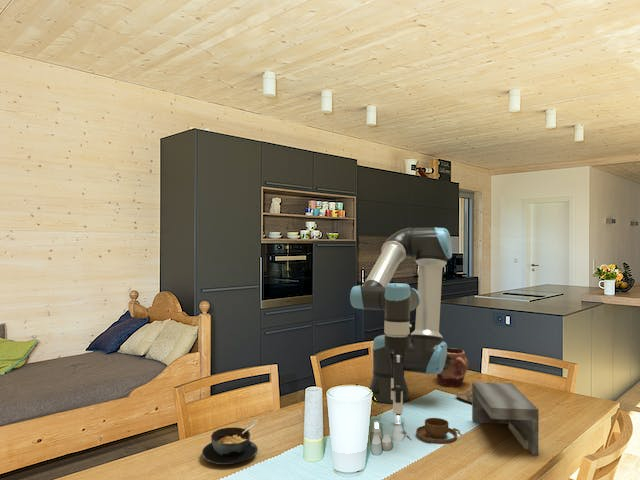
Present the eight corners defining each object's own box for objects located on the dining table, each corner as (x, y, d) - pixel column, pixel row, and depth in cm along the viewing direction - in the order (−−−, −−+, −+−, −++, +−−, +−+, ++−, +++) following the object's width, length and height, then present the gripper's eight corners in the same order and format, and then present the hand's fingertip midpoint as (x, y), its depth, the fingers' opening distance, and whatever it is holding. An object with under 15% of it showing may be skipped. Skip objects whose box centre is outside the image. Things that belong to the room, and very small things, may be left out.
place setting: (416, 448, 143) (416, 427, 143) (390, 423, 162) (391, 405, 162) (472, 443, 147) (472, 423, 147) (440, 419, 166) (441, 401, 166)
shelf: (491, 453, 138) (491, 407, 138) (472, 420, 164) (472, 382, 164) (538, 455, 137) (538, 409, 137) (511, 422, 162) (512, 383, 163)
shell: (474, 394, 193) (475, 384, 193) (501, 403, 182) (502, 393, 182) (452, 397, 187) (453, 387, 187) (479, 407, 176) (479, 397, 176)
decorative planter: (480, 389, 198) (480, 354, 198) (454, 393, 193) (454, 356, 194) (450, 376, 216) (450, 344, 217) (426, 379, 212) (426, 346, 212)
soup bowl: (200, 447, 142) (200, 420, 142) (256, 441, 147) (257, 415, 147) (203, 470, 128) (203, 440, 128) (266, 462, 133) (266, 434, 133)
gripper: (413, 343, 139) (412, 420, 139) (406, 328, 164) (406, 394, 163) (385, 342, 140) (385, 419, 139) (383, 328, 164) (382, 393, 164)
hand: (396, 406), depth 151 cm, fingers open, 13 cm apart
